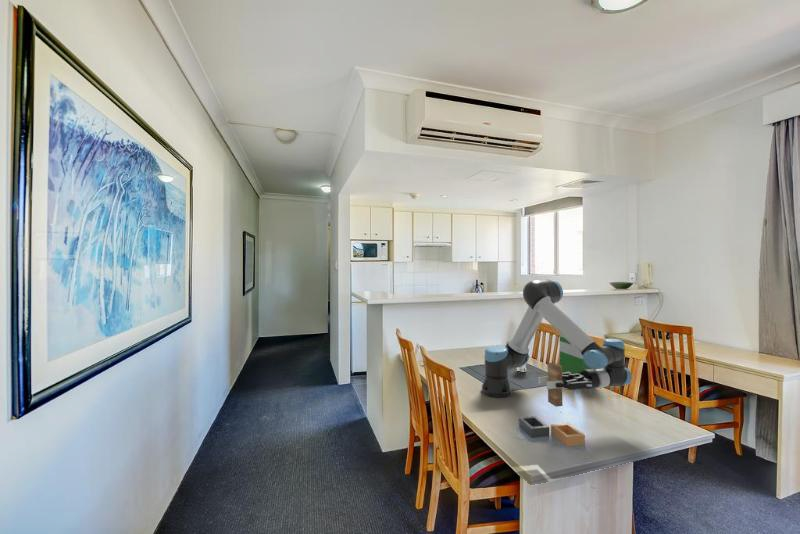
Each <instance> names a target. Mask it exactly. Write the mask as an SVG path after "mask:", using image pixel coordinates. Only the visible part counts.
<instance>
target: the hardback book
mask: <svg viewBox="0 0 800 534" xmlns="http://www.w3.org/2000/svg"><path fill="white" fill-rule="evenodd" d="M559 365H560V366H562V373H565V372H571V374H575V373H578V374H580V373H581V371H582V370H587V369H591V368H589V367H587V366H586V365H585V363H584V361H583V355H582V354H581V353H580V352H579V351H578V350H577V349H576V348H574V347H573V346H572V345H571V344H570V343H569V342H568V341H567V340H566V339H565V338H564V337H563V336H562V335H559Z"/></svg>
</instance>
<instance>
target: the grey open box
mask: <svg viewBox="0 0 800 534" xmlns="http://www.w3.org/2000/svg"><path fill="white" fill-rule="evenodd" d="M518 424H519V427H521V428H522V429H523V430H524V431H525V432H526V433H527V434H528V435H529V436H530V437H531V438H536V437H545V436H549V427H550V426H548V425H547V424H546V423H545V422H543V421H542V419H540V418H539V417H537V416H536V415H533V416H522V417H519V418H518ZM532 426H535V427H532Z"/></svg>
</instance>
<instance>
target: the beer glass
mask: <svg viewBox="0 0 800 534" xmlns="http://www.w3.org/2000/svg"><path fill="white" fill-rule="evenodd" d="M516 369H517V371H521V372H525V371H527V363H526V364H525V365H523V366H521V367H517V368H516ZM517 371H516V372H517ZM527 372H528V371H527Z"/></svg>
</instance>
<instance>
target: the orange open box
mask: <svg viewBox="0 0 800 534" xmlns="http://www.w3.org/2000/svg"><path fill="white" fill-rule="evenodd" d="M550 427H551V434H552V435H554V436H555V437H556V438H557V439H558V440H560V441H561V442H562V443H563V444H564V445H566V446H576V445H584V444H585V442H586V435H585V434H583V433H584V432H583V433H581V432H582V431H580V430H578V429H577V428H576V427H574V426H573V425H572V424H570V423H569V422H567V423H566V422H564V423H563V422H562V423H556V424H555V423H553V424H550ZM567 434H569V435H567Z"/></svg>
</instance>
